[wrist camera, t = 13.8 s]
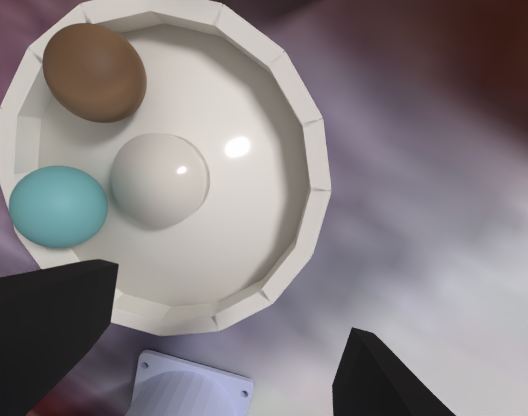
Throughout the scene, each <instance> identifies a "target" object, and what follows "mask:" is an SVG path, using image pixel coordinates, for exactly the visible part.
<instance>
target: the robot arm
mask: <svg viewBox="0 0 528 416" xmlns="http://www.w3.org/2000/svg"><path fill="white" fill-rule="evenodd" d="M118 268H119V264H117V263H113V262H110V261H106V260H102V259H94V260H87V261H81V262H75V263H70V264H65V265H61V266H56V267H51V268H46V269H41V270H37V271H32V272H27V273H22V274H17V275H11V276H6V277H0V416H25V415H26V414H27V413H28V412H29V411H30V410H31V409H32V408H33V407H34V406H35V405H36V404H37V403H38V402H39V401H40V400H41V399H42V398H43V397H44V396H45V395H46V394H47V393H48V392H49V391H50V390H51V389H52V388H53V387H54V386H55V385H56V384H57V383H58V382H59V381H60V380H61V379H62V378H63V377H64V376H65V375H66V374H67V373H68V372H69V371H70V370H71V369H72V368H73V367H74V366H75V365H76V364H77V363H78V362H79V361H80V360H81V359H82V358H83V357H84V356H85V355H86V354H87V352H88V351H89V350H90V349H91V348H92V346H93V345H94V344H95V343H96V341H97V340H98V339H99V338H100V336H101V335H102V334H103V332H104V331H105V330H106V328H107V327H108V326H109V324H110V323H111V317H112V310H113V303H114V296H115V289H116V282H117V275H118ZM144 362H146V363H147V364H148V365H146V364H145V363H144ZM253 388H254V383H253V381H252V380H251V379H250V378H247V377H243V376H240V375H236V374H233V373H229V372H226V371H222V370H219V369H215V368H212V367H208V366H205V365H201V364H197V363H194V362H190V361H187V360H183V359H180V358H176V357H173V356H169V355H166V354H162V353H159V352H155V351H152V350H144V351H143V352H142V353H141V354H140V356H139V360H138V366H137V372H136V378H135V384H134V389H133V395H132V401H131V407H130V409H129V410H128V412H127V413H126V415H125V416H246V414H247V410H248V407H249V403H250V399H251V396H252V392H253ZM242 391H246V392H247V393H244V392H242ZM332 392H333V415H334V416H456V415H455V414H454V413H452V412H451V411H450V410H449V409H448V408H447V407H446V406H445V405H444V404H443V403H442V402H441V401H440V400H439V399H438V398H437V397H436V396H435V395H434V394H433V393H432V392H431V391H430V390H429V389H428V388H427V387H426V386H425V385H424V384H423V383H422V382H421V381H420V380H419V379H418V378H417V377H416V376H415V375H414V374H413V373H412V372H411V371H410V370H409V369H408V368H407V367H406V366H405V364H404V363H403V362H402V361H401V360H400V359H399V358H398V357H397V356H396V355H395V354H394V353H393V352H392V351H391V350H390V349H389V348H388V347H387V346H386V345H385V344H384V343H383V342H382V341H381V340H380V339H379V338H378V337H377V336H376V335H375V334H373V333H371V332H368V331H364V330H360V329H357V328H353V327H352V329H351V332H350V335H349V338H348V341H347V344H346V346H345V349H344V352H343V355H342V358H341V361H340V364H339V367H338V370H337V373H336V376H335V379H334V382H333V385H332Z"/></svg>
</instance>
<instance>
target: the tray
mask: <svg viewBox="0 0 528 416" xmlns="http://www.w3.org/2000/svg"><path fill="white" fill-rule="evenodd" d="M77 23H92V24H98V25H101V26H104V27H107V28H109V29H111V30H113V31H115V32H117V33H118V34H120V35H121V36H122V37H124V38H125V39H126V40H127V41H128V42H129V43H130V44H131V45H132V46H133V47H134V49H135V50H136V51H137V53H138V54H139V56H140V58H141V60H142V62H143V65H144V67H145V71H146V76H147V88H146V94H145V97H144V99H143V101H142V103H141V105H140V106H139V108H138V109H137V110H136V111H135V112H134V113H133V114H131V115H130V116H129V117H127V118H125V119H123V120H120V121H117V122H112V123H98V122H92V121H88V120H85V119H83V118H80V117H78V116H76V115H74V114H73V113H71V112H70V111H68V110H67V109H66V108H64V107H63V106H62V105H61V104H60V103H59V102H58V101H57V100H56V98H55V97H54V96H53V94H52V93H51V91H50V89H49V87H48V85H47V83H46V81H45V78H44V73H43V66H42V61H43V54H44V50H45V48H46V45H47V43H48V42H49V40H50V39H51V37H52V36H53V35H54V34H55V33H56V32H58V31H59V30H61V29H62V28H64V27H66V26H69V25H72V24H77ZM29 48H30V49H29ZM29 48H27V51H26V53H25V55H24V57H23V59H22V61H21V63H20V66H19V68H18V70H17V72H16V74H15V76H14V78H13V81H12V83H11V85H10V87H9V89H8V91H7V93H6V96H5V98H4V100H3V102H2V104H1V106H0V107H1V108H2V109H1V108H0V185H1V188H2V191H3V194H4V197H5V200H6V204H7V207H8V210H9V199H10V195H11V193H12V191H13V189H14V187H15V186H16V184H17V183H18V182H19V181H20V180H21V179H22V178H23V177H24V176H26V175H27V174H29V173H31V172H32V171H35V170H37V169H40V168H43V167H48V166H68V167H74V168H77V169H79V170H82V171H84V172H86V173H87V174H89V175H91V176H92V177H93V178H94V179H95V180H96V181H97V182H98V183H99V184H100V185H101V187H102V188H103V190H104V192H105V194H106V197H107V202H108V213H107V217H106V220H105V222H104V224H103V226H102V227H101V229H100V230H99V231H98V232H97V233H96V234H95V235H94V236H93V237H92V238H90V239H89V240H87V241H86V242H84V243H82V244H79V245H76V246H73V247H68V248H49V247H44V246H40V245H38V244H35V243H33V242H31V241H29V240H28V239H26V238H25V237H24V236H22V235H21V234H20V233H19V232H18V231H17V229H16V228H15V226H14V225H13V226H14V229H15V232H16V234H18V235H17V236H18V238H19V239H20V240H21V242H22V243H23V244H24V246H25V247H26V248H27V250H28V251H29V252H30V254H31V255H32V257H33V258H34V259H35V261H36V262H37V263H38V265H39V266H40V267H41V269H46V268H51V267H56V266H61V265H65V264H70V263H75V262H81V261H87V260H94V259H102V260H106V261H110V262H113V263H117V264H119V268H118V275H117V282H116V289H115V296H114V303H113V310H112V317H111V322H112V323H115V324H119V325H123V326H126V327H130V328H133V329H137V330H140V331H144V332H147V333H151V334H155V335H158V336H170V335H182V334H193V333H205V332H216V331H219V330H220V331H221V330H223V329H225V328H227V327H229V326H231V325H233V324H235V323H236V322H238V321H240V320H242V319H244V318H246V317H248V316H250V315H252V314H254V313H256V312H258V311H260V310H262V309H264V308H266V307H268V306H270V305H272V303H274V302H275V300H276V299H277V298H278V297H279V296H280V294H281V293H282V292H283V291H284V290H285V288H286V287H287V286H288V285H289V284H290V282H291V281H292V280H293V279H294V278H295V276H296V275H297V274H298V273H299V272H300V270H301V269H302V268H303V267H304V265H305V264H306V263H307V262H308V261H309V259H310V258H311V257H312V255H313V252H314V249H315V246H316V242H317V239H318V235H319V232H320V228H321V225H322V222H323V218H324V215H325V211H326V208H327V204H328V201H329V198H330V194H331V191H330V190H331V183H330V174H329V166H328V157H327V149H326V140H325V131H324V123H323V119H321V118H322V116H321V114H320V112H319V110H318V109H317V107H316V105H315V103H314V101H313V100H312V98H311V96H310V94H309V93H308V91H307V89H306V87H305V85H304V84H303V82H302V80H301V78H300V77H299V75H298V73H297V71H296V69H295V68H294V66H293V64H292V62H291V61H290V59H289V57H288V55H287V53H286V52H284V50H283V49H282V48H281V47H279V46H278V45H277V44H275V43H274V42H273V41H272V40H270V39H269V38H268V37H266V36H265V35H264V34H262V33H261V32H260V31H258V30H257V29H256V28H255V27H253V26H252V25H251V24H249V23H248V22H247V21H245V20H244V19H243V18H241V17H240V16H239V15H238V14H236V13H235V12H234V11H232V10H231V9H230V8H228V7H227V6H226V5H224V4H222V3H219V2H214V1H210V0H92V1H88V2H84V3H81V4H79V5H78V6H77V7H75V8H74V9H73V10H72V11H71V12H70V13H68V14H67V15H66V16H65V17H64V18H62V19H61V20H60V21H59V22H58V23H56V24H55V25H54V26H53V27H52V28H50V29H49V30H48V31H47V32H46V33H44V34H43V35H42V36H41V37H40V38H39V39H37V40H36V41H35V42H34V43H33V44H31V45H30V46H29Z"/></svg>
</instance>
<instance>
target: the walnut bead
mask: <svg viewBox="0 0 528 416" xmlns="http://www.w3.org/2000/svg"><path fill="white" fill-rule="evenodd" d="M42 66H43V73H44V78H45V81H46V83H47V85H48V87H49V89H50V91H51V93H52V94H53V96H54V97H55V98H56V100H57V101H58V102H59V103H60V104H61V105H62V106H63V107H64V108H66V109H67V110H68V111H70V112H71V113H73V114H74V115H76V116H78V117H80V118H83V119H85V120H88V121H92V122H98V123H112V122H117V121H120V120H123V119H125V118H127V117H129V116H130V115H131V114H133V113H134V112H135V111H136V110H137V109H138V108H139V106H140V105H141V103H142V101H143V99H144V97H145V94H146V88H147V76H146V71H145V67H144V65H143V62H142V60H141V58H140V56H139V54H138V53H137V51H136V50H135V49H134V47H133V46H132V45H131V44H130V43H129V42H128V41H127V40H126V39H125V38H124V37H122V36H121V35H120V34H118V33H117V32H115V31H113V30H111V29H109V28H107V27H104V26H101V25H98V24H92V23H77V24H72V25H69V26H66V27H64V28H62V29H61V30H59V31H58V32H56V33H55V34H54V35H53V36H52V37H51V39H50V40H49V42H48V43H47V45H46V48H45V50H44V54H43V61H42Z"/></svg>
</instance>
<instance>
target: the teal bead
mask: <svg viewBox="0 0 528 416" xmlns="http://www.w3.org/2000/svg"><path fill="white" fill-rule="evenodd" d="M107 213H108V202H107V197H106V194H105V192H104V190H103V188H102V187H101V185H100V184H99V183H98V182H97V181H96V180H95V179H94V178H93V177H92V176H91V175H89V174H87V173H86V172H84V171H82V170H79V169H77V168H74V167H68V166H48V167H43V168H40V169H37V170H35V171H32V172H31V173H29V174H27V175H26V176H24V177H23V178H22V179H21V180H20V181H19V182H18V183H17V184H16V186H15V187H14V189H13V191H12V193H11V195H10V199H9V215H10V218H11V221H12V223H13V225H14V226H15V228H16V229H17V231H18V232H19V233H20V234H21V235H22V236H24V237H25V238H26V239H28V240H29V241H31V242H33V243H35V244H38V245H40V246H44V247H49V248H68V247H73V246H76V245H79V244H82V243H84V242H86V241H87V240H89V239H90V238H92V237H93V236H94V235H95V234H96V233H97V232H98V231H99V230H100V229H101V227H102V226H103V224H104V222H105V220H106V217H107Z"/></svg>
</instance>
